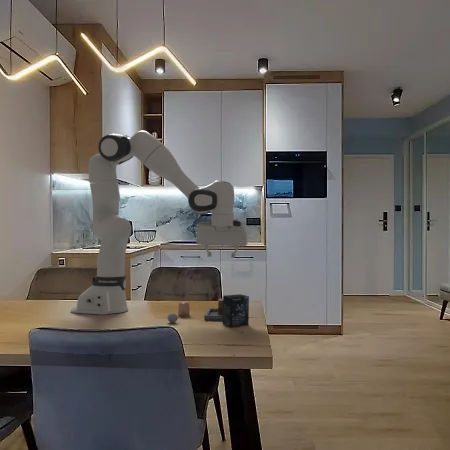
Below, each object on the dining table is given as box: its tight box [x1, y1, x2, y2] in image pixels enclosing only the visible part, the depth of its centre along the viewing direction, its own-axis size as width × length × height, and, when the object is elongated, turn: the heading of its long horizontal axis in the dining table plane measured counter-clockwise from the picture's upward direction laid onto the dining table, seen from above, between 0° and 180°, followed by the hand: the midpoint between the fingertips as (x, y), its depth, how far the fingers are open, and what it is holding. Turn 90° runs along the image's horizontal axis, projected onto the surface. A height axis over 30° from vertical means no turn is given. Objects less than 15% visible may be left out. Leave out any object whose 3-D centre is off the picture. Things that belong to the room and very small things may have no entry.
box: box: [222, 294, 250, 328], centre depth 186 cm, size 8×6×11 cm
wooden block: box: [177, 301, 191, 317], centre depth 203 cm, size 4×4×5 cm
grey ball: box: [167, 312, 179, 324], centre depth 188 cm, size 4×4×4 cm
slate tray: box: [203, 307, 223, 322], centre depth 201 cm, size 14×16×2 cm
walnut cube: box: [217, 298, 223, 315], centre depth 201 cm, size 4×4×6 cm
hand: (221, 257), depth 204 cm, fingers open, 8 cm apart
